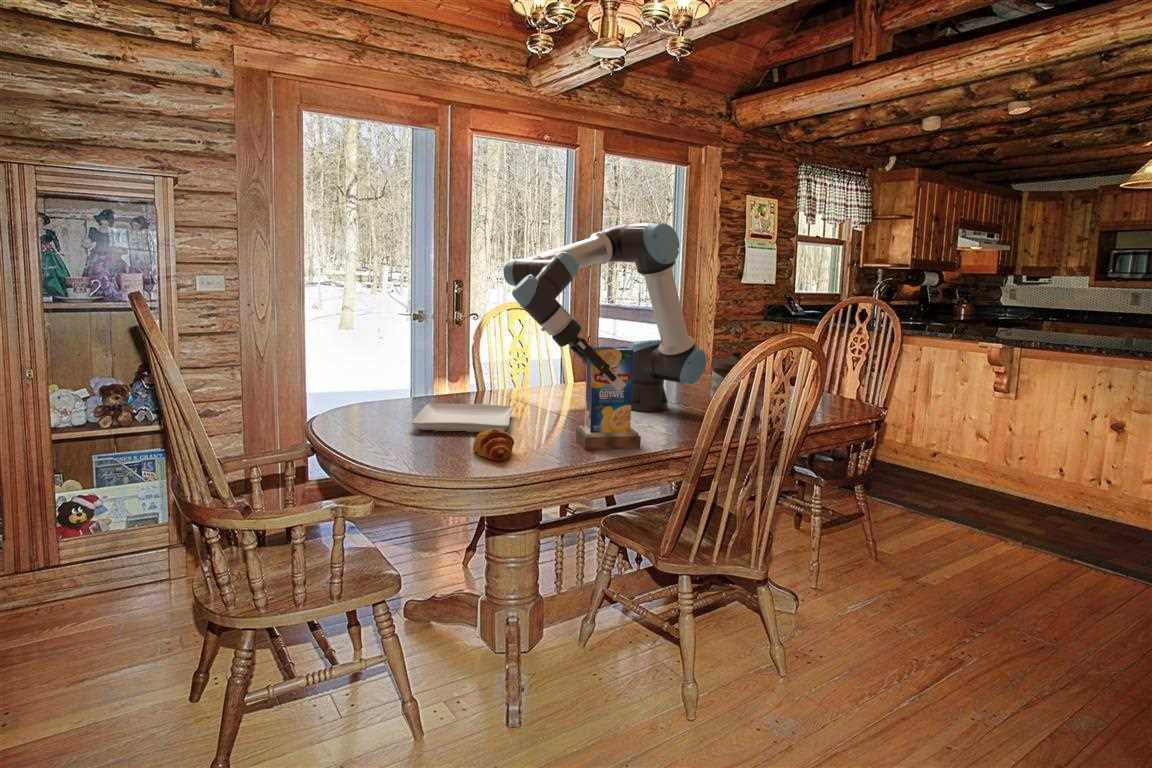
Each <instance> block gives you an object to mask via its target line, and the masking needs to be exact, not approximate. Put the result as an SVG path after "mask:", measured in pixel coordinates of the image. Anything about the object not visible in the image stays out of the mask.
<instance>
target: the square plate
mask: <svg viewBox="0 0 1152 768" xmlns="http://www.w3.org/2000/svg"><path fill="white" fill-rule="evenodd" d="M513 411H514V406H513V405H501V404H500V405H498V404H482V403H478V404H477V403H427V404H426V405H425V406H424V407H422V409H421V411H420V412H419V413H418V414H417V415H416V416H415V417H414V418H413V419H412V421H411V424H412V425H413V427H415V428H417V429H419V430H423V431H429V430H436V431H435V432H437V431H467V432H466V433H477V432H481V431H484V430H490V429H499V430H502V431H504V432H505V431H506V429H508V427H509V426H510V421H511V420H510V419H511V415H512V412H513Z"/></svg>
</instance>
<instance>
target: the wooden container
mask: <svg viewBox="0 0 1152 768" xmlns="http://www.w3.org/2000/svg"><path fill="white" fill-rule="evenodd" d="M730 354H731V355H730V356H729V357H728V358H727V357H726V358H724V357H723V358H714V359H712V366H711V367H712V369H711V371H712V372H711V384H710V396H709V397H710V400H711V398H712V397H713V395H714V393H715V392H716V390H717V388H718V386H719V385H720V384H721V382H722V380H723V379H724V377H725V376H726V374H727V373H728V372H729V371H730V370H731V369H732V367H733V366H734V365H735V364H736V363H737V362H738V361H739V360H740V359H741V358H742V359H743V357H742V356H741V355H742V351H741V350H740V349H737V348H733V349H731V351H730ZM749 387H750V382H749V384H748V387H747V391H746V395H745V398H744V401H743V405H742V409H741V412H740V417H741V416H743V413H744V410H745V407H746V404H747V399H748V394H749ZM734 397H735V394H734V395H733V396H732V398H731V399H730V401H729V403H728V404H727V406H726V410H725V416H726V417H729V414H730V412H731V409H732V406H733V402H734ZM710 400H709V401H710ZM756 412H757V407H756V408H755V414H754V417H755V418H756V416H755V415H756V414H757V413H756ZM725 416H724V417H725Z"/></svg>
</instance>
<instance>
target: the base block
mask: <svg viewBox="0 0 1152 768" xmlns="http://www.w3.org/2000/svg"><path fill="white" fill-rule="evenodd" d="M575 430H576V431H575V440H576V442H578V444H579V445H580V446H581V447H582V448H583V449H584V450H585V451H593V450H596V449H602V450H627V449H629V450H632V449H635V450H637V449H641V441H642V438H641V437H642V436H641V435H639V432H638V431H636V430H635V429H634V428H632V426H630V432H609V433H590V432H589V431H588V430H587V429H586V428H585V425H578V428H576V429H575Z"/></svg>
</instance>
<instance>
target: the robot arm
mask: <svg viewBox="0 0 1152 768" xmlns="http://www.w3.org/2000/svg"><path fill="white" fill-rule="evenodd" d="M680 246H681V245H680V239H679V236H678V234H677V232H676V230H675V229H674V228H673V227H672V226H671V225H669V224H668V223H664V222H655V221H654V222H653V221H651V222H639V223H638V222H637V223H636V222H634V223H631V222H628V223H621V224H616V225H615V226H611V227H609V228H605V229H602V230H600V231H596V232H595V233H594V232H593V233H592V234H590V236H589V238H586V239H582V240H580V241H576V242H573V243H570V244H566V245H563V246H561V247H556V248H554V249H551V250H548V251H544V252H541V253H539V254H536V255H532V256H529V257H525V258H518V257H517V258H513V259H509V260H508V261H507V262H506V263H505V265H504V267H503V278H504V280H505V281H506V284H508V285H510V286H512V287H514V288H513V289H512V291H511V292H512V293H511V295H512V297H513V298H514V300H515V301H516V302H517V303H518V304H519V306H520V308H522V309H523V310H525V311H526V313H528V315H529V316H530V317H531V318H533V320H534V321H535V322H536V323H537V324H538V325H539V326H540V327H541V328H540V331H541V332H544V331H545V332H546V333H547V334H548V335H549V336H551V338H552V340H553V341H554V342H555V343H556V344H557V345H558V346H559V347H561V348H562V347H566V346H567V345H569V348H570V350H571V351H572V352H574V354H576V355H577V356H578V357H579V358H580V359H581V360H582V362H583V363H585V364H586V365H587V360H588V361H589V362H590V363H592V364H593V365H594V366H595V367H596V368H597V369H598V370H599V371H600V373H599V375H600V376H602V375H603V376H604V377H605V378H606V379H607V380H608V382H609V383H610V384H611V385H612V386H613V387H614V388H615V389H616V390H617V391H618V392H619V391H620V390H622V389H623V388H624V387H625V386H626V384H625V383H624V382H623V381H622V380H621V379H620V378H619V376H618V375H617V374H616V373H615V372H614V371H613V370H612V369H611V368H610V366H609V364H607V363H606V362H605V361H604V360H603V359H602V358H601V357H600V356H599V355H598V354H597V353H596V352H595V351H594V350H593V349H592V347H593V346H591V345H589V344H588V342H587V341H586V339H584V338H582V337H581V336H580V337H579V336H578V335H579V334H580V332H581V331H582V327H581V324H579V323H578V322H577V320H575V318H573V317H572V316H571V313H569V312H568V310H566V309H565V308H564V306H563V305H562V304H561V303H559V301H558V300H557V298H558V297H559V296H560V295H561V293H562V292H564V290H565V289H566V288H567V286H568V285H569V284H570V283H571V282H573V281H574V278H575V276H576V275H578V272H579V270H580V269H583V268H586V267H588V266H591V265H594V264H599V265H604V264H608V263H611V262H612V263H613V262H614V263H615V262H617V263H619V262H621V263H634V264H635V267H636V271H637V274H639V275H641V276H643V278H644V281H645V284H646V288H647V289H646V290H647V292H648V296H649V300H650V304H651V308H652V310H653V314H654V319H655V322H656V326H657V329H658V334H659V337H660V339H649V340H637V341H633V342H632V344H631V345H630V349H633V350H634V352H633V376H632V399H631V411H636V412H646V411H655V412H662V410H664V411H666V409H667V410H668V408H669V401H668V397H667V393H666V390H665V386H664V383H665V381H669V382H674V383H679V384H680V383H681V384H682V385H685V384H689V385H693V384H695V383H697V382H698V381H699V380H700V379H701V378H702V377H703V374H704V373H705V370H706V364H707V355H706V352H705V351H704V350H703V349H702V348H699V347H698V348H697V347H696V343H695V340H694V338H693V336H690V335H688V331H687V326H686V322H685V318H684V313H683V309H682V306H681V302H680V297H679V294H678V288H677V285H676V281H675V276H674V273H673V268H674V266H675V265H676V260H677V259H678V257H679V254H680V250H679V249H680ZM603 365H605V366H604V367H603V368H602V369H601V367H602V366H603Z"/></svg>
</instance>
